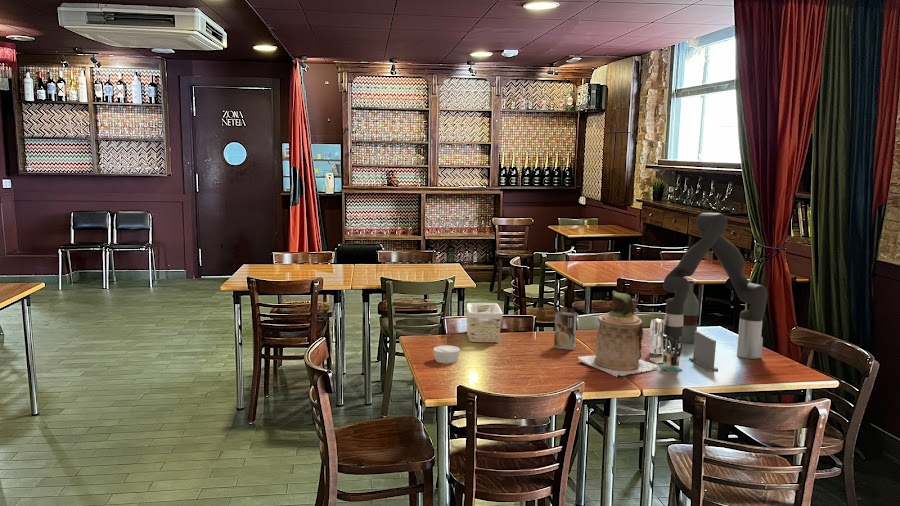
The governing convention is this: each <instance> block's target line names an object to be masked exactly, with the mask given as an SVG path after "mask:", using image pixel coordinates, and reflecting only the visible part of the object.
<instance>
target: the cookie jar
mask: <svg viewBox="0 0 900 506" xmlns="http://www.w3.org/2000/svg"><path fill="white" fill-rule="evenodd" d="M611 298H612V300H611V301H610V302H611V305H612V308H613V309H612V310H610V311H609V312H607V313H605V314H600V315H599V316H598V317H597V320H598V322H599V324H598V325H599V326H598V330H597V335H596V339H595V346H594V347H595V355H587V356H586V355H585V356H577V358H578V362H579V364H580V363H583V364H585V365H587V366H590V367H592V368H595V369H597V370H600V371H603V372H605V373H607V374H609V375H610V376H613V377H615V376H616V377H615V378H617V377H618V376H620V377H626V376H627V375H636V373H637V374H642V373H646V371H647V372H653V371H656V370H657V369H658V368H659V365H658V364H655V363H652V362H649V361H646V360H643V359H641V358H642V352H641V351H642V349H643V347H642V340H643V339H644V330H643V324H644V323H643V321H642V318H639V316H637V315H636V314H635V311H634V309H637V307H638V306H637V305H638V300H637V299H635V298H632V297H631V295H630V294H628V293H625V292H624V293H621V292H617V291H616V290H612V297H611ZM655 369H656V370H655ZM652 370H653V371H652ZM641 372H642V373H641Z"/></svg>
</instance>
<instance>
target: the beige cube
mask: <svg viewBox="0 0 900 506" xmlns="http://www.w3.org/2000/svg"><path fill="white" fill-rule="evenodd" d="M673 352H674V351H673ZM671 357H672V356H671V351H665V350H663V354H662V358H663V361H662V363H663V364H662V365H666V366H672V365H671ZM680 358H681V356H680V357H677V365H676V366H678V367H680Z"/></svg>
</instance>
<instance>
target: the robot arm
mask: <svg viewBox="0 0 900 506" xmlns="http://www.w3.org/2000/svg"><path fill="white" fill-rule="evenodd" d="M695 223H696V224H695V225H696V228H697V230H698V231H699V234H700V235H701V236H702V238H701V239H700V240H698V241H697V242H696V243H695V244H693V245H692V246H691V247H690V248H689V249H687V250H686V251H685V253H684V254H683V256H682V257H681V259H680V261H679V263H678V264H677V266H675V267H674V268H673V269H672V270H671V271H670V272H669V273H668V274H667V275H666V276H665V278H664V280H663V286H662V287H663V289H664V290H665V292H668V293H671V294H675V295H674V297H672V298H671V297H670V298H668V299H666V304H665V313H664V314H665V315H664V318H663V320H664V332H663V333H664V334H665V336H663V351H671V356H672V357H671V365H672V366H676V365H677V357H680V358H681V356H682V355H681V354H682V350H683V343H680V342H679V337H680V336H682V333H683V310H684V303H685V300H686V297H687V295H688V292H689V288H690V285H689V282H688V281H689V280H688V279H687V277H691V276H693V275H694V273H695V272H696V270H697V268H698V267H699V265H700V263H701V262H702V260H703V259H704V257H705V256H706V255H707V253H708V252H709V251H710V249H711V250H712V251H713V253H714V255H715V256H716V258H717V259H718V261H719V264H720V265H721V267H722V268H723V269H724V271H725V273H726V275H727V277H728V279H729V280H730V282H731V284H732V286H733V288H734V290H735V293H736V295H737V297H738V299H739V300H740V301H741V302H743V303H745V304H749V307H748V309H747V310H746V309H745V310H741V312H740V314H739V324H738V338H737V348H736V355H737V356H738V357H740V358H743V359H749V360H757V359H762V354H763V353H762V351H763V342H764V338H763V336H762V330H763V319H764V315H765V313H766V308H767V301H768V290H767V288H766V287H765V286H764V285H762V284H758V283H752V282H751V281H750V280H749V279H748V278H747V277H746V275H745V268H746V261H745V259H744V257H743V255H742V253H741V251H740V249H739V248H737V246H735V245H734V244H733V243H732V242H730V241H729V240H728V239H727V238H726V237H724V236H723V234H724V233H725V231H726V229H727V226H728V218H727V217H726V215H725V214H723V213H718V212H701V213H700V214H699V215H697V217H696V222H695ZM685 277H686V278H685ZM673 351H674V352H673Z"/></svg>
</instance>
